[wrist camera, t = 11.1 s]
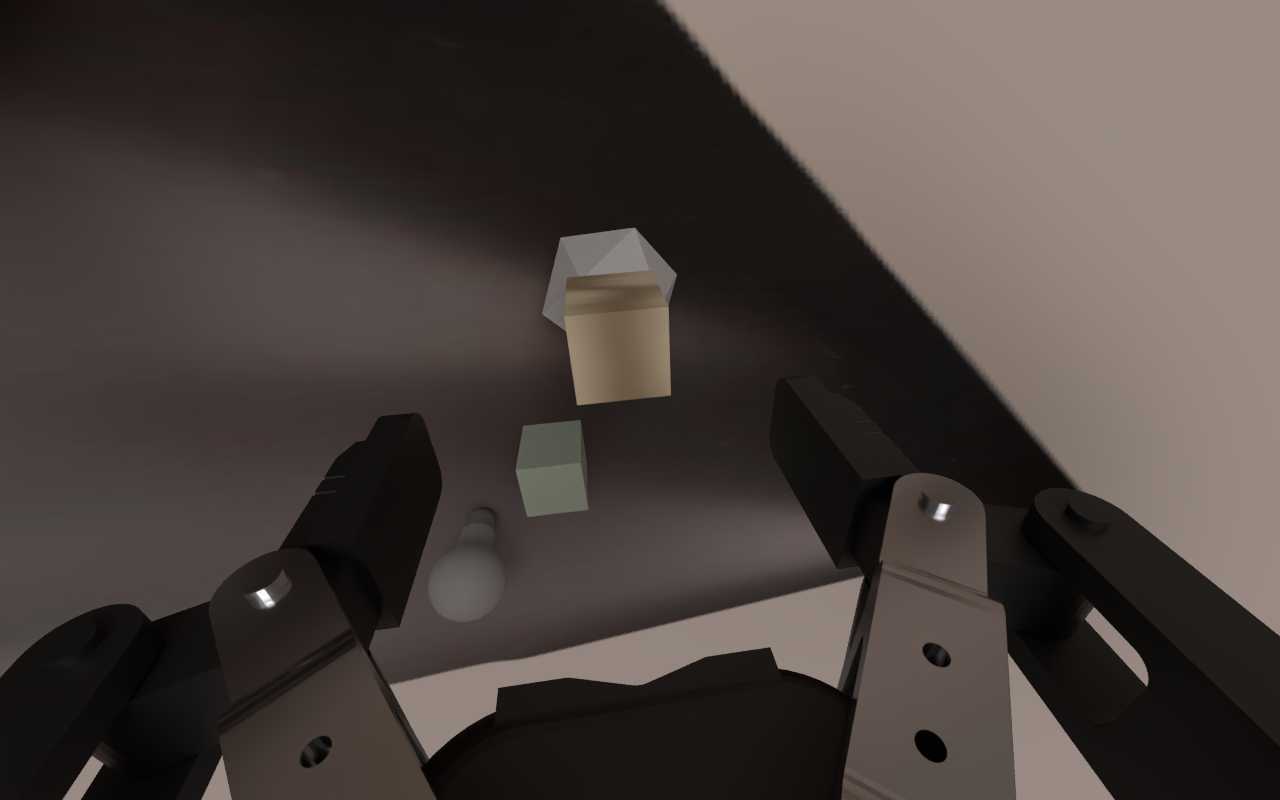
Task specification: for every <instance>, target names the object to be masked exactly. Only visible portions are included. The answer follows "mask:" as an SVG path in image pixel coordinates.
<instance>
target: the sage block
mask: <svg viewBox="0 0 1280 800" xmlns="http://www.w3.org/2000/svg"><path fill="white" fill-rule="evenodd" d="M516 474H517V478H518V482H519V486H520V490H521V494H522V498H523V502H524V506H525V510H526V514H527V517H532V516H540V515H549V514H557V513H566V512H574V511H583V510H588V483H587V460H586V454H585V447H584V440H583V433H582V426H581V420H575V421H566V422H556V423H547V424H538V425H528V426H523V430H522V435H521V441H520V447H519V453H518V459H517V465H516Z"/></svg>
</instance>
